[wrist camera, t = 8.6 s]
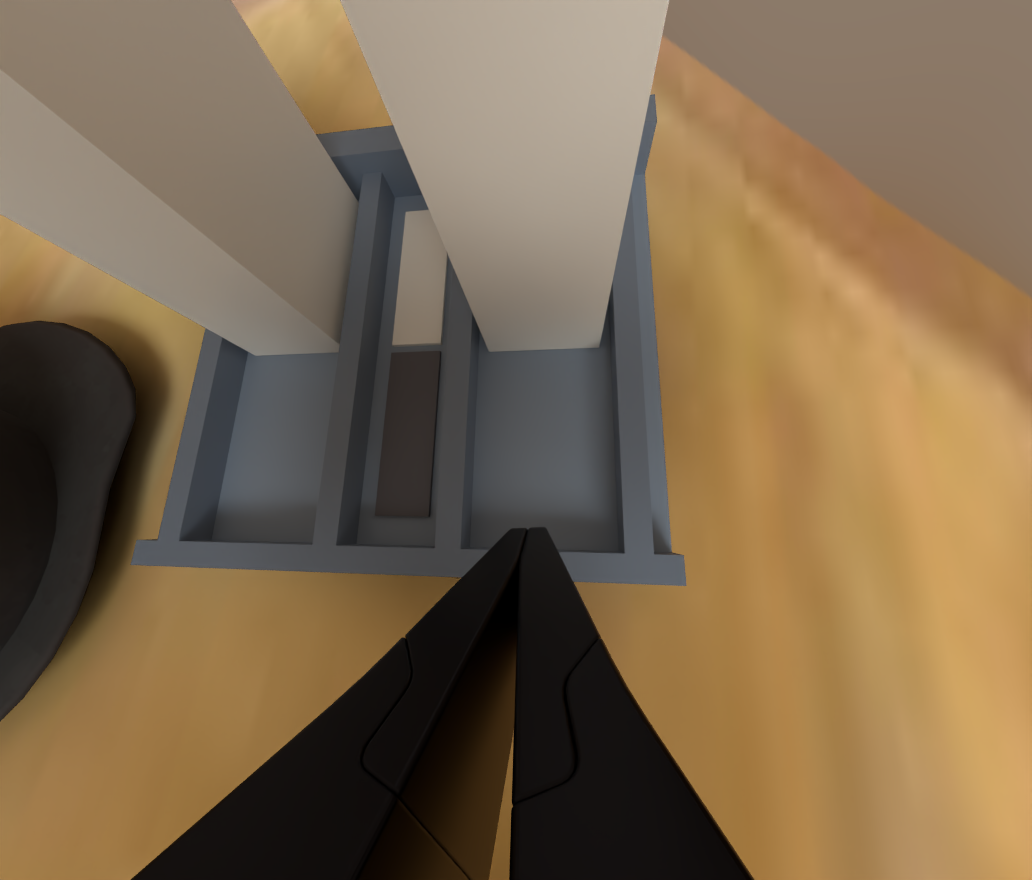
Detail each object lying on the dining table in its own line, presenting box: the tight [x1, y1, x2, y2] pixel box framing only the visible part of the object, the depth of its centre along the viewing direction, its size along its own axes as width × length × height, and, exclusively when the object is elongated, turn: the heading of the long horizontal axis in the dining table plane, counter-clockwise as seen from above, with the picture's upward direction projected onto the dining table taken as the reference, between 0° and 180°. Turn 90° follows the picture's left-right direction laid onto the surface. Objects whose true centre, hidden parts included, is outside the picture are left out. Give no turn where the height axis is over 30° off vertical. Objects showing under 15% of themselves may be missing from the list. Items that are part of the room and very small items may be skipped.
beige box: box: [0, 0, 359, 356], centre depth 13 cm, size 5×8×12 cm, turn 179°
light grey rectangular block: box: [340, 0, 669, 352], centre depth 12 cm, size 5×8×12 cm, turn 179°
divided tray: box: [131, 94, 686, 586], centre depth 17 cm, size 22×20×4 cm
